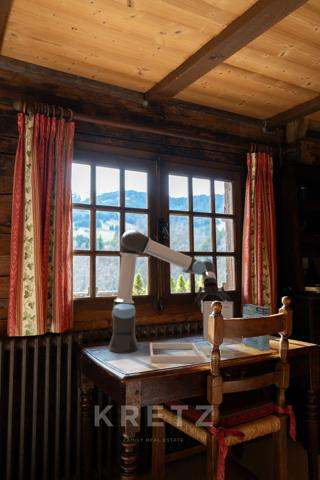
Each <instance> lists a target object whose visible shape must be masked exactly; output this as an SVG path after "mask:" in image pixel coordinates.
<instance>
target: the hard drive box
mask: <svg viewBox="0 0 320 480" xmlns="http://www.w3.org/2000/svg"><path fill="white" fill-rule="evenodd" d="M212 302H215V301H213V300H212V301H211V300H210V301H209V300H208V301H206V300H205V301H203V313H202V324H203V325H202V328H203V330H202V334H203V338H202V341H203V342H210V341H209V340H208V316H209V315H210V314H212V312H213V310H212V308H211V304H212ZM219 302H220V303H221V305H222V309H221V314H222V316H223V318H226V319H230V318H233V319H234V301H230V302H224V301H219ZM234 340H235V339H224V342H223V343H234Z"/></svg>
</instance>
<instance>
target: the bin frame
mask: <svg viewBox="0 0 320 480" xmlns="http://www.w3.org/2000/svg"><path fill="white" fill-rule="evenodd" d="M154 350H192V351H193V353H194V354H195V355H154ZM149 355H150V363H152V364H154V363H155V364H157V363H158V364H163V363H166V364H168V363H169V364H170V363H171V364H173V363H174V364H175V363H176V364H177V363H178V364H181V363H183V364H185V363H186V364H190V363H191V364H194V363H195V364H197V363H198V364H199V363H200V364H202V363H203V355H202V353H201V352H200V351H199V349H198V348H197V346H196V344H195V343H194V342H149Z"/></svg>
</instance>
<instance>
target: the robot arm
mask: <svg viewBox="0 0 320 480" xmlns="http://www.w3.org/2000/svg"><path fill="white" fill-rule="evenodd" d="M119 244H120V246H119V255H121V260H120V270H119V277H118V286H117V293H116V298H115V299H114V300H113V306H112V310H111V319H112V336H111V339H110V342H109V345H108V349H109V350H108V351H110V352H113V353H116V354H117V353H118V354H119V353H122V354H123V353H125V354H126V353H134V352H137V351H138V350H139V344H138V341H137V338H136V332H135V331H136V307H135V302H134V300H133V292H134V291H133V290H134V283H135V275H136V266H137V265H136V264H137V258H138V257H139V256H140V253H141V254H145V253H146V254H148V255H150V256H153V257H155V258H158V259H159V260H162V261H165V262H167V263H169V264H171V265H174V266H176V267H178V268H180V270H181V272H182V273H184V274H185V273H186V274H192V275H198V276H199V275H201V276H202V282H203V287H202V286H199V287H198V292H197V293H196V296H195V298H194V302H195V303H197V304H198V307H199V308H201V309H200V311H201V313H202V314H203V302H204V301H203V300H204V299H205V298H206V297H207V296H211V295H212V296H216V297H218V299H220V300H222V302H232V298H231V296H230V295H229V294H228V293H227V291H226V290H225V289H224V286H221V287H219V286H218V283H217V277H216V272H215V268H214V267H215V266H214V262H213V261H212V260H211V259H209V258H205V259H204V258H203V259H202V260H198V259H195V258H193V257H191V256H189V255H186V254H184V253H181V252H180V251H177V250H175V249H172V248H170V247H168V246H167V245H163V244H162V243H159V242H156V241H154V240H152V239H151V237H150V236H147V235H146V234H143V233H141V232H140V231H138V230H136V229H128V230H126V231H125V232H124V233H123V234H122V235H121V237H120V241H119ZM203 291H204V292H203ZM202 292H203V293H202ZM201 293H202V295H201Z"/></svg>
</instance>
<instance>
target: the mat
mask: <svg viewBox="0 0 320 480" xmlns="http://www.w3.org/2000/svg"><path fill="white" fill-rule="evenodd" d="M212 346H213V345H200V350H201V351H202V352H203V354H204V355H205V356H206V358H211V357H210V356H211V350H212ZM219 346H220V351H221V357H220V358H235V357H236V355H235V354H234V352H232V350H230V349H229V347H227V346H226V345H219Z"/></svg>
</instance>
